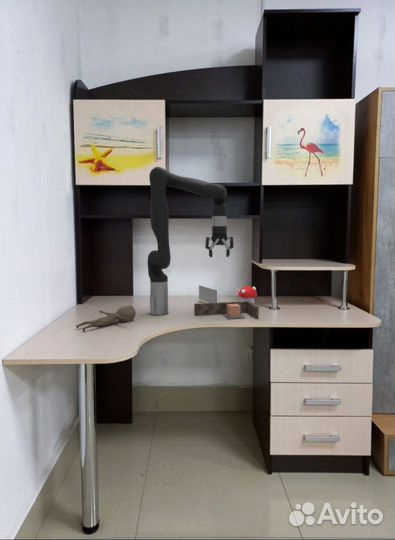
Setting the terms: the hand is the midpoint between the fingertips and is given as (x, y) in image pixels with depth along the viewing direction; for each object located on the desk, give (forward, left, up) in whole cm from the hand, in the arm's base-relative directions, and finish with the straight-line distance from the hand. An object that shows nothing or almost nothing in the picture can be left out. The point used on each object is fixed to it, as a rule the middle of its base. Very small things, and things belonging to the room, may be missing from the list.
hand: (219, 257), depth 215 cm
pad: (+6, -6, -30) cm, 31 cm away
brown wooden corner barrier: (+2, -5, -30) cm, 31 cm away
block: (+6, -6, -30) cm, 31 cm away
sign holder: (0, +26, -30) cm, 40 cm away
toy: (-56, -7, -31) cm, 65 cm away
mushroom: (+20, +14, -30) cm, 39 cm away
